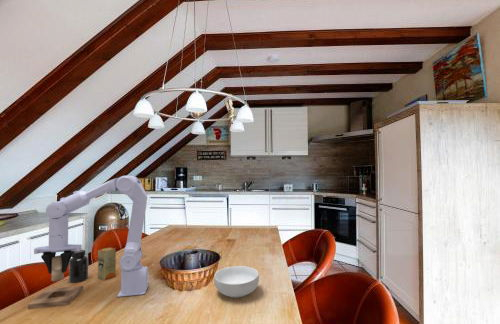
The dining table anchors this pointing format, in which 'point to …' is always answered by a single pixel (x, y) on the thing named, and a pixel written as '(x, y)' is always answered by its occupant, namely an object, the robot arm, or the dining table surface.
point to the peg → (57, 269)
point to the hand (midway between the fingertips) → (58, 272)
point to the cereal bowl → (236, 280)
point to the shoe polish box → (106, 263)
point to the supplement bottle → (78, 267)
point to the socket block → (48, 301)
